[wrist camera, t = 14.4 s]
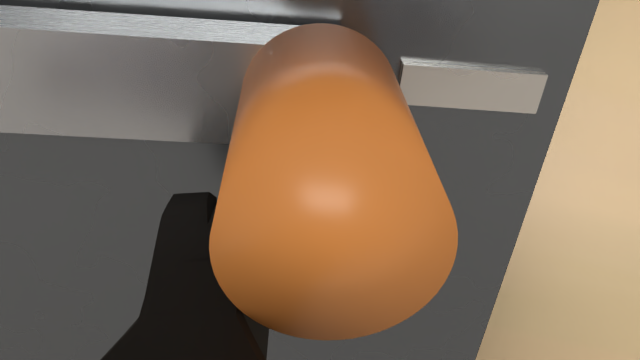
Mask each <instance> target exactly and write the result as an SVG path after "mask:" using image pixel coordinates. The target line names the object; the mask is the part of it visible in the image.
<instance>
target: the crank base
mask: <svg viewBox="0 0 640 360" xmlns="http://www.w3.org/2000/svg"><path fill="white" fill-rule="evenodd" d="M598 3H599V0H0V5H7V6H22V7H36V8H51V9H66V10H80V11H95V12H110V13H124V14H139V15H154V16H168V17H183V18H198V19H212V20H227V21H242V22H256V23H271V24H286V25H300V26H301V25H306V24H313V23H328V24H335V25H340V26H344V27H347V28H350V29H352V30H354V31H357V32H359V33H360V34H362V35H364V36H365V37H367V38H368V39H369V40H371V41H372V42H373V43H374V44H375V45H376V46H377V47H378V48H379V49H380V50H381V51H382V52H383V54H384V55H385V57H386V58H387V59H388V61H389V63H390V65H391V67H392V69H393V72H394V74H395V76H396V79H397V81H398V83H399V86H400V88H401V90H402V93H403V95H404V97H405V99H406V102H407V104H408V106H409V109H410V111H411V113H412V116H413V118H414V120H415V123H416V125H417V127H418V130H419V132H420V134H421V137H422V139H423V141H424V144H425V146H426V148H427V151H428V153H429V155H430V158H431V160H432V162H433V165H434V167H435V169H436V171H437V174H438V176H439V178H440V181H441V183H442V185H443V188H444V190H445V192H446V195H447V197H448V199H449V202H450V204H451V206H452V209H453V212H454V215H455V218H456V223H457V230H458V247H457V252H456V258H455V261H454V264H453V267H452V269H451V272H450V274H449V275H448V277H447V279H446V281H445V283H444V284H443V286H442V287H441V288H440V290H439V291H438V293H437V294H436V295H435V296H434V297H433V298H432V299H431V300H430V301H429V302H428V303H427V304H426V305H425V306H424V307H423V308H421V309H420V310H419V311H418V312H416V313H415V314H413V315H412V316H411V317H409V318H408V319H406V320H404V321H402V322H400V323H399V324H397V325H395V326H393V327H390V328H388V329H385V330H383V331H380V332H377V333H374V334H371V335H367V336H363V337H358V338H353V339H344V340H311V339H304V338H298V337H294V336H290V335H286V334H282V333H280V332H277V331H274V330H272V329H269V336H268V348H267V360H475V359H476V356H477V353H478V350H479V347H480V344H481V341H482V339H483V336H484V333H485V330H486V327H487V324H488V321H489V318H490V315H491V312H492V310H493V307H494V304H495V301H496V298H497V295H498V292H499V289H500V286H501V284H502V281H503V278H504V275H505V272H506V269H507V266H508V263H509V260H510V258H511V255H512V252H513V249H514V246H515V243H516V240H517V237H518V234H519V232H520V229H521V226H522V223H523V220H524V217H525V214H526V211H527V208H528V206H529V203H530V200H531V197H532V194H533V191H534V188H535V185H536V182H537V180H538V177H539V174H540V171H541V168H542V165H543V162H544V159H545V156H546V153H547V151H548V148H549V145H550V142H551V139H552V136H553V133H554V130H555V127H556V125H557V122H558V119H559V116H560V113H561V110H562V107H563V104H564V101H565V99H566V96H567V93H568V90H569V87H570V84H571V81H572V78H573V75H574V73H575V70H576V67H577V64H578V61H579V58H580V55H581V52H582V49H583V47H584V44H585V41H586V38H587V35H588V32H589V29H590V26H591V23H592V21H593V18H594V15H595V12H596V9H597V6H598ZM228 149H229V144H214V143H195V142H175V141H156V140H137V139H117V138H98V137H79V136H59V135H40V134H20V133H1V132H0V360H100V359H101V358H102V357H103V356H104V355H105V354H106V353H107V352H108V351H109V350H110V349H111V348H112V347H113V346H114V344H115V343H116V342H117V341H118V340H119V339H120V338H121V337H122V336H123V335H124V334H125V332H126V331H127V330H128V329H129V328H130V327H131V326H132V324H133V323H134V322H135V321H136V320H137V318H138V317H139V315H140V311H141V308H142V304H143V301H144V297H145V293H146V288H147V283H148V278H149V273H150V268H151V263H152V258H153V253H154V248H155V243H156V238H157V234H158V229H159V224H160V220H161V216H162V214H163V212H164V210H165V208H166V206H167V204H168V202H169V201H170V199H171V197H172V196H173V194H179V193H197V192H210V193H212V194H213V195H214V196H215V197H217V200H218V195H219V191H220V186H221V181H222V177H223V172H224V168H225V163H226V158H227V154H228Z"/></svg>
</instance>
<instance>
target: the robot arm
mask: <svg viewBox="0 0 640 360" xmlns="http://www.w3.org/2000/svg"><path fill="white" fill-rule="evenodd" d="M216 205H217V197H215V196H214V195H213V194H212V193H210V192H197V193H179V194H173V196H172V197H171V199H170V201H169V202H168V204H167V206H166V208H165V210H164V212H163V214H162V216H161V220H160V224H159V229H158V234H157V238H156V243H155V248H154V253H153V258H152V263H151V268H150V273H149V278H148V283H147V288H146V293H145V297H144V301H143V304H142V308H141V311H140V315H139V317H138V318H137V320H136V321H135V322H134V323H133V324H132V326H131V327H130V328H129V329H128V330H127V331H126V332H125V334H124V335H123V336H122V337H121V338H120V339H119V340H118V341H117V342H116V343H115V344H114V346H113V347H112V348H111V349H110V350H109V351H108V352H107V353H106V354H105V355H104V356H103V357H102V358H101V359H100V360H267V348H268V336H269V328H267V327H265V326H263V325H261V324H259V323H257V322H256V321H254V320H253V319H251V318H250V317H248V316H247V315H245V314H244V313H243V312H242V311H241V310H239V309H238V308H237V307H236V306H235V305H234V304H233V303H232V302H231V301H230V299H229V298H228V297H227V296H226V295H225V293H224V292H223V290H222V289H221V287H220V286H219V283H218V281H217V279H216V277H215V275H214V272H213V269H212V265H211V261H210V253H209V240H210V232H211V228H212V223H213V218H214V214H215V209H216Z"/></svg>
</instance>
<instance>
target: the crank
mask: <svg viewBox="0 0 640 360" xmlns="http://www.w3.org/2000/svg"><path fill="white" fill-rule="evenodd" d="M0 132H1V133H20V134H40V135H59V136H79V137H98V138H117V139H137V140H156V141H175V142H195V143H214V144H229V149H228V154H227V158H226V163H225V168H224V172H223V177H222V181H221V186H220V191H219V195H218V200H217V205H216V209H215V214H214V218H213V223H212V228H211V232H210V240H209V253H210V261H211V265H212V269H213V272H214V275H215V277H216V279H217V281H218V283H219V286H220V287H221V289H222V290H223V292H224V293H225V295H226V296H227V297H228V298H229V299H230V301H231V302H232V303H233V304H234V305H235V306H236V307H237V308H238V309H239V310H241V311H242V312H243V313H244V314H245V315H247V316H248V317H250V318H251V319H253V320H254V321H256V322H257V323H259V324H261V325H263V326H265V327H267V328H269V329H272V330H274V331H277V332H280V333H282V334H286V335H290V336H294V337H298V338H304V339H311V340H344V339H353V338H358V337H363V336H367V335H371V334H374V333H377V332H380V331H383V330H385V329H388V328H390V327H393V326H395V325H397V324H399V323H400V322H402V321H404V320H406V319H408V318H409V317H411V316H412V315H413V314H415V313H416V312H418V311H419V310H420V309H421V308H423V307H424V306H425V305H426V304H427V303H428V302H429V301H430V300H431V299H432V298H433V297H434V296H435V295H436V294H437V293H438V291H439V290H440V288H441V287H442V286H443V284H444V283H445V281H446V279H447V277H448V275H449V274H450V272H451V269H452V267H453V264H454V261H455V258H456V252H457V247H458V230H457V223H456V218H455V215H454V212H453V209H452V206H451V204H450V202H449V199H448V197H447V195H446V192H445V190H444V188H443V185H442V183H441V181H440V178H439V176H438V174H437V171H436V169H435V167H434V165H433V162H432V160H431V158H430V155H429V153H428V151H427V148H426V146H425V144H424V141H423V139H422V137H421V134H420V132H419V130H418V127H417V125H416V123H415V120H414V118H413V116H412V113H411V111H410V109H409V106H408V104H407V102H406V99H405V97H404V95H403V93H402V90H401V88H400V86H399V83H398V81H397V79H396V76H395V74H394V72H393V69H392V67H391V65H390V63H389V61H388V59H387V58H386V57H385V55H384V54H383V52H382V51H381V50H380V49H379V48H378V47H377V46H376V45H375V44H374V43H373V42H372V41H371V40H369V39H368V38H367V37H365V36H364V35H362V34H360V33H359V32H357V31H354V30H352V29H350V28H347V27H344V26H340V25H335V24H328V23H313V24H306V25H301V26H300V25H286V24H271V23H256V22H242V21H227V20H212V19H198V18H183V17H168V16H154V15H139V14H124V13H110V12H95V11H80V10H66V9H51V8H36V7H22V6H7V5H0Z"/></svg>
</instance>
